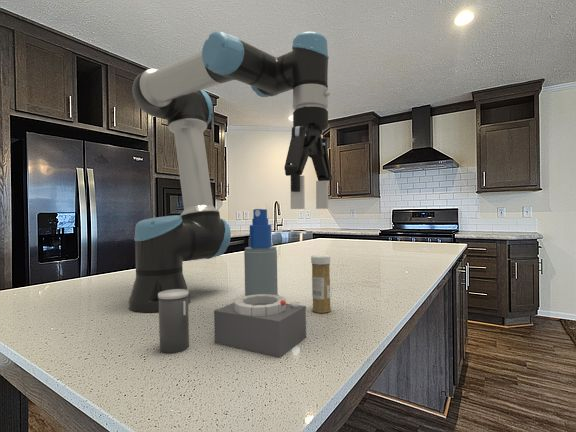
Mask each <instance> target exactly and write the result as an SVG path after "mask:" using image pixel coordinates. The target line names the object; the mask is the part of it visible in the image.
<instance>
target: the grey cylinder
mask: <svg viewBox="0 0 576 432" xmlns="http://www.w3.org/2000/svg"><path fill="white" fill-rule="evenodd" d="M189 293H190V291H189V289H188V290H185V289H171V290H165V291H162V292H159V293H158V298H159V311H158V320H159V321H158V323H159V325H158V329H159V331H158V332H159V335H158V336H159V337H158V338H159V351H160V353H162V354H166V355H167V354H168V355H169V354H178V352H179V353H183V352H184V351H187V350H188V349H189V348H188V347H190V331H189V330H190V325H189V324H190V322H189V321H190V320H189V303H188V295H189ZM187 348H188V349H187Z"/></svg>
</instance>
